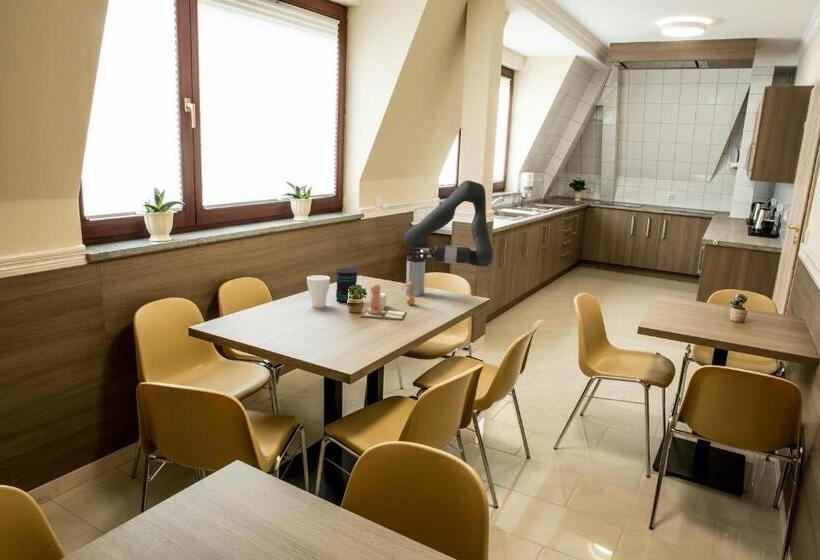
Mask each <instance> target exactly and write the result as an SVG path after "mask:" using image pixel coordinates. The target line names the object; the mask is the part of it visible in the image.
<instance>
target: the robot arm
mask: <svg viewBox="0 0 820 560" xmlns="http://www.w3.org/2000/svg"><path fill="white" fill-rule="evenodd" d="M464 202H468V203H471V204H473V207H474V217H473V219H472V222H471V227H470V229H471V234H472V240H473V243H474V247H475V250H472V249H471V248H470V247H466V246H455V245H442V244H436V246H435V247H428V246H429V245H428V244H429V235H430V234H432V233H435V232H437V231H439V230H440V229H443V228H444V227H445V226H447V225H448V224H450V222H452V221H453V219H454V217H455V214H456V210H457V208H458V206H460V205H461V204H463V203H464ZM486 202H487V200H486V189H485V186H484V185H483V184H481V183H479V182H476V181H472V180H464V181H462V182H461V183H460V184H459V185H458V186H457V187H456V188H455V190H454V191H453V192H451V194H450V195H449V196H448V197H446V198H445V200H443V201H442V202H441V203H440V204H439V205H438V206H437V207H436V208H434V209H433V210H432V211H431V212H430V213H429V214H427V215H426V216H425V217H424V218H423V219H422V220H421V221H420V222H418V223H417V224H415V225H414V226H412V227H411V228H409V229H408V230H407V231H406V232H405V233H404V236H403V244H404V245H405V246H406V247H407V248H411V249H410V250H408V252H407V255H406V278H405V279H406V280H405V281H406V282H405V283H406V284H408V283H409V282H410V281H411V282H412V284H414V285H416V286H417V287H418V289H419V290H418V289H417V287H415V286H413V287H412V289H413V295H412V292H411V291H410V292H408V288H409V287H408V286H405V294H406V295H407V296H409V295H410V297H412V296H413V297H418V296H424V295H425V277H426V274H425V273H426V260H432V258H434V262H435V263H442V264H443V263H445V264H467V265H472V266H475V267H476V266H477V267H480V268H481V267H482V268H483V267H484V268H485V267H489V266H490V265H491V264H492V263H493V260H494V257H493V255H494V251H493V248H492V242H491V240H490V233H489V229H488V223H487V205H486V204H487V203H486ZM406 284H405V285H406ZM408 293H410V294H409V295H408Z"/></svg>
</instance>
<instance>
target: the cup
mask: <svg viewBox="0 0 820 560" xmlns="http://www.w3.org/2000/svg"><path fill="white" fill-rule="evenodd" d="M330 282H331V277H329V276H328V275H322V274H321V275H319V274H317V275H316V274H315V275H309V276H307V277H306V284H307V289H308V292H309V296H310V300H311V301H310V302H311V306H312V308H314V307H315V309H322V308H325V307H326V301H327V296H328V292H329V289H330V284H331V283H330Z"/></svg>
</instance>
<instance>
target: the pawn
mask: <svg viewBox="0 0 820 560" xmlns="http://www.w3.org/2000/svg"><path fill="white" fill-rule="evenodd" d="M380 293H381V286H380V284H378V283H373V284H371V286H370V305H371V307H368V308H367V309H368V314H370V315H380V314H382V310H383V309H382V308H381V307H380Z"/></svg>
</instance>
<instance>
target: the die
mask: <svg viewBox="0 0 820 560" xmlns="http://www.w3.org/2000/svg"><path fill="white" fill-rule="evenodd" d="M386 304H387V293H381V292H380V307H381V308H382V310H385V308H386V307H387V305H386ZM369 305H370V307H371V304H369Z"/></svg>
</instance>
